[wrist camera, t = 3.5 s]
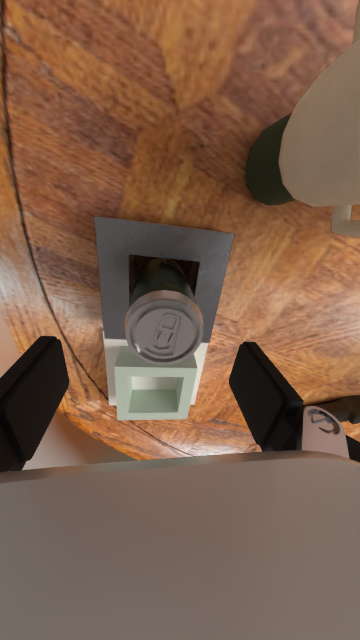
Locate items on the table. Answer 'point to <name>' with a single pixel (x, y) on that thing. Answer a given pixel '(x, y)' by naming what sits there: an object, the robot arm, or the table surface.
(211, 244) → the socket block
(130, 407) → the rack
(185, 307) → the beer can
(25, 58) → the table surface
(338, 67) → the character mug
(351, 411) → the hand tool
